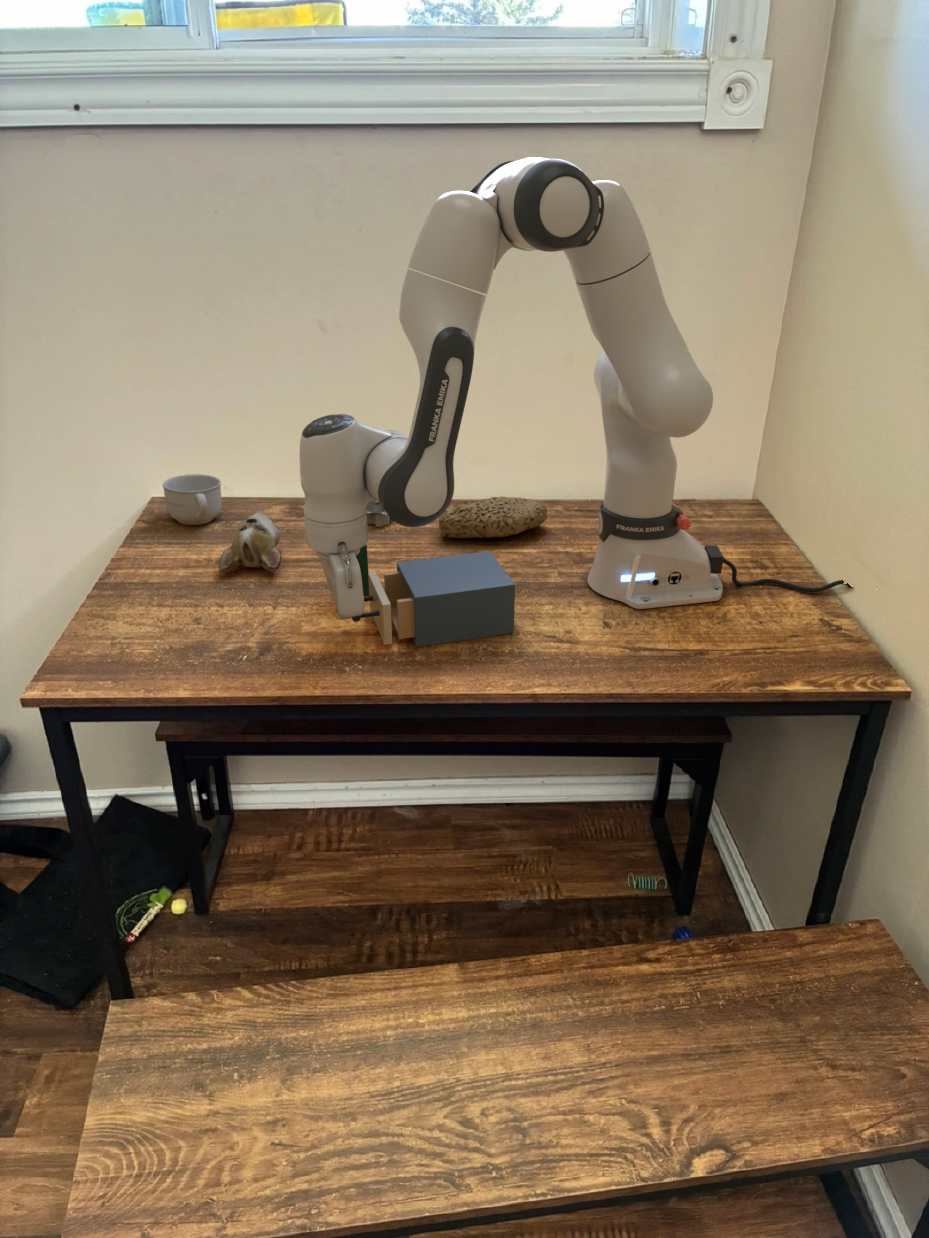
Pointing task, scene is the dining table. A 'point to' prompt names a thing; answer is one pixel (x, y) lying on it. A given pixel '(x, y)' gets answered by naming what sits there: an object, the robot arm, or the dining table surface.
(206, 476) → the teacup
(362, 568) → the scrub sponge
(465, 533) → the sponge
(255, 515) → the ceramic sculpture
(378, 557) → the dining table surface
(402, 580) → the drawer
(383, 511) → the egg carton
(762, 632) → the dining table surface
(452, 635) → the cabinet
